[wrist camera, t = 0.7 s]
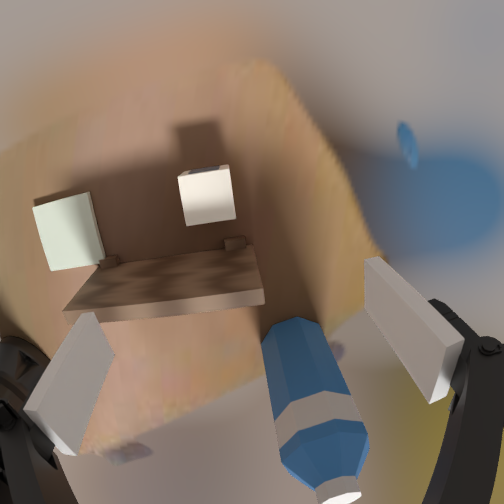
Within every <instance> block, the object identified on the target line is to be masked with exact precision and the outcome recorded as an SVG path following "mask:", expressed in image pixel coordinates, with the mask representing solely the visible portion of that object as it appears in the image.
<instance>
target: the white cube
mask: <svg viewBox="0 0 504 504" xmlns="http://www.w3.org/2000/svg"><path fill="white" fill-rule="evenodd" d="M178 183H179V189H180V194H181V200H182V206H183V211H184V217H185V222H186V226H192V225H198V224H205V223H211V222H218V221H225V220H232V219H236V214H235V206H234V199H233V191H232V184H231V177H230V170H229V164H228V165H221V166H219V165H218V166H212V167H205V168H199V169H193V170H189V171H184V172H183V173H182V174H181V175H179V176H178Z"/></svg>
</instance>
